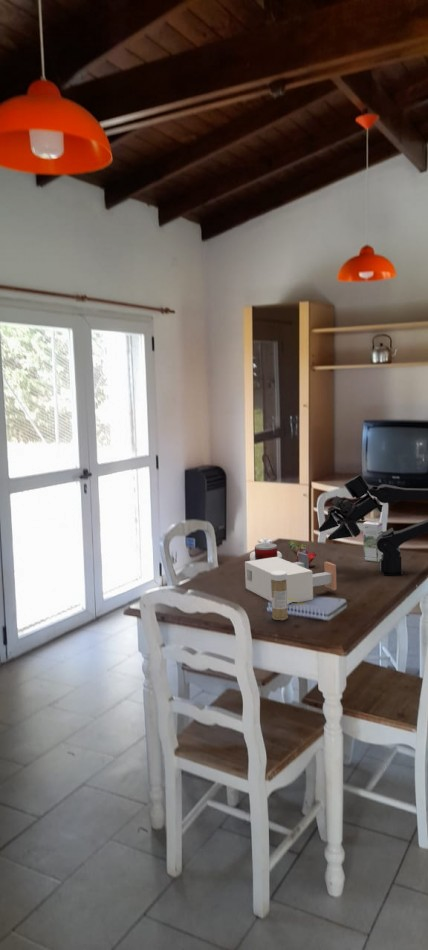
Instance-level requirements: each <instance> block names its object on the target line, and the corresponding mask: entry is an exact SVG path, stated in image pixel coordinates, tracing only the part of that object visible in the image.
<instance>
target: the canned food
mask: <svg viewBox="0 0 428 950" xmlns="http://www.w3.org/2000/svg"><path fill="white" fill-rule="evenodd" d="M254 551H255V560H259V559H265V558H272V557H277V551H278V546H277V544H276V543H273V542H272V543H262V544H261V543H258V544H255V545H254Z"/></svg>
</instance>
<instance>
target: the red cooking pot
mask: <svg viewBox="0 0 428 950" xmlns="http://www.w3.org/2000/svg"><path fill="white" fill-rule="evenodd" d="M257 543H258V544H262V543H272V544H273V543H274V540H273V539H270V538H268V537H263V538H261V539H260V540H259V539H258V540H257ZM277 557H279V558H281V559H283V554H282V553H281V552H280V551H278V550H277ZM252 560H255V550H254V551H251V552H250V553H249V561H252Z"/></svg>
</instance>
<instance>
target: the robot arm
mask: <svg viewBox="0 0 428 950" xmlns="http://www.w3.org/2000/svg"><path fill="white" fill-rule="evenodd" d="M343 486H344V487H345V489H346V491H347V492H348V493H349V495H350V496H351V497H352V499H353V498H356V499H358V500H357V501H356V502H354V503H353V502H351V501H349V499H342V498H341V497H340V496H337V495H336V496H335V497H334V498H333V499H332V500H331V505H332V506H330V507H328V508H327V517H326V518H325V520H324V521H323V523H322V524H321V525H320V526H319V528H318V532H319V533H321V532H325V531H327V530H331V529H334V528H336V527H337V528H336V529H335V530H333V532H332V533H331V534H329V535H328V536H327V539H328V541H333V540H334V541H335V540H338V539H343V538H353V537H354V538H356V537H358V536H360V534H361V529H360V527H359V526H358V524H357V523H358V522H359V521H360V520H361V521H362V522H363V521H364V520H365V517H366V516H368V515H369V514H371V513H372V512H374V511H375V510H376V512H377V513H382V512H383V507H384V504H390V503H396V502H399V501H426V502H427V501H428V488H417V487H416V488H412V487H411V488H409V487H408V488H405V487H399V486H396V485H391V484H387V483H385V484H384V483H382V484H379V486H373V485H368V483H367V481H366V480H365V479H364V477H363V475H362V474H360V473H359V475H357V476H355V477H352V478H350V479H349V480H347V481H346V482H344V484H343ZM379 502H380V503H381V504H380V503H379ZM381 533H382V534H380V535H379V536H378V538H377V548H378V550H379V551H380V552H382V553H383V555H381V559H380V561H379V571H380V572H381V574H382V575H383V576H403V572H402V555H401V548H400V546H402V545H403V544H404V543H405V542H408V541H410V540H414V539H416V538H418V537H420V536H423V535H425V534H428V518H427V519H424V520H422V521H420V522H418V523H415V524H413V525H409V526H408V527H405V528H403V529H400V530H394V528H393V527H390V528H389V529H387V530H385V531H383V532H381Z"/></svg>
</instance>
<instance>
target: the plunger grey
mask: <svg viewBox="0 0 428 950" xmlns="http://www.w3.org/2000/svg"><path fill="white" fill-rule="evenodd" d="M293 563H294V564H296V565H299V566H301V567H304V568H306V569H309V570H310V567H309V566H310V563H309V560H308V555H307V554H305V553H302V552H298V562H297V561H296V562H293Z"/></svg>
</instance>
